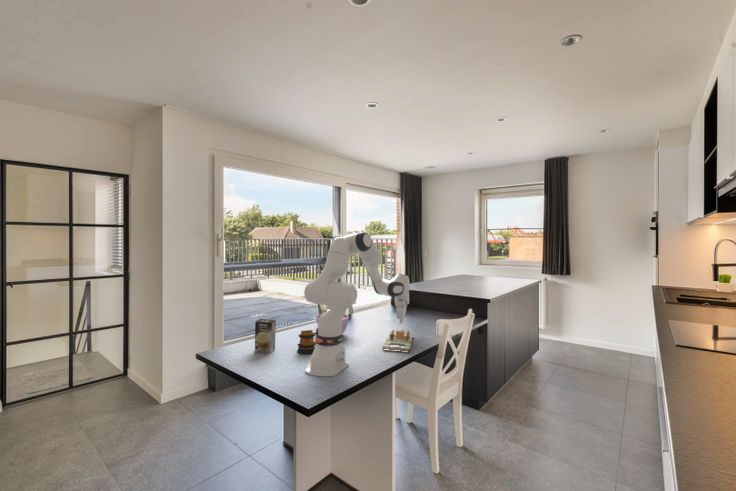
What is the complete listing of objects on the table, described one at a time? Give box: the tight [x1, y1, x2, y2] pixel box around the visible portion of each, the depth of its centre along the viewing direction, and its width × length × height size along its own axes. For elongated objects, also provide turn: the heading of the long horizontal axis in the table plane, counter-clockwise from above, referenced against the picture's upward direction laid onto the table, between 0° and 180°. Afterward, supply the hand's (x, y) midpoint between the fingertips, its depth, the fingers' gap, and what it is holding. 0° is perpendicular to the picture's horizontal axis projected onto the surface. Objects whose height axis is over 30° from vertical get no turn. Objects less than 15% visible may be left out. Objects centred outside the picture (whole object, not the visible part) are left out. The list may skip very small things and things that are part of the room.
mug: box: [296, 327, 318, 356], centre depth 178 cm, size 13×10×12 cm
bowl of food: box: [315, 313, 350, 335], centre depth 207 cm, size 20×20×12 cm
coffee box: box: [254, 318, 277, 354], centre depth 177 cm, size 9×6×16 cm
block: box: [395, 328, 405, 339], centre depth 199 cm, size 4×4×4 cm
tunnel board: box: [382, 329, 414, 352], centre depth 193 cm, size 28×14×5 cm, turn 168°
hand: (401, 322), depth 207 cm, fingers closed
